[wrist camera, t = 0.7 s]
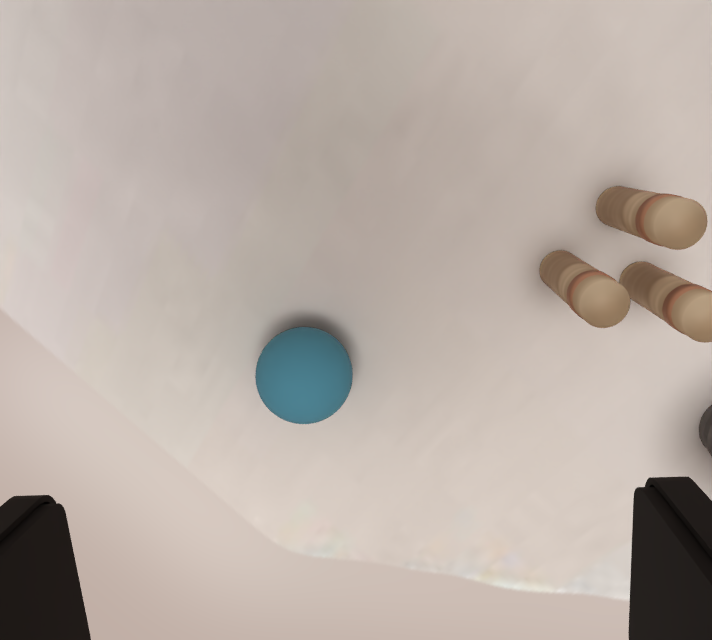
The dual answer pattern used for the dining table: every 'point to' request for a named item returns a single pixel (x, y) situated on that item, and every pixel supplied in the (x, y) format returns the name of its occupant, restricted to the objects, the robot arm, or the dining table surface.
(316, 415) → the ball
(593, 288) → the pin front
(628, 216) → the pin
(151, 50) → the dining table surface
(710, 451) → the beverage cup
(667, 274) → the pin
